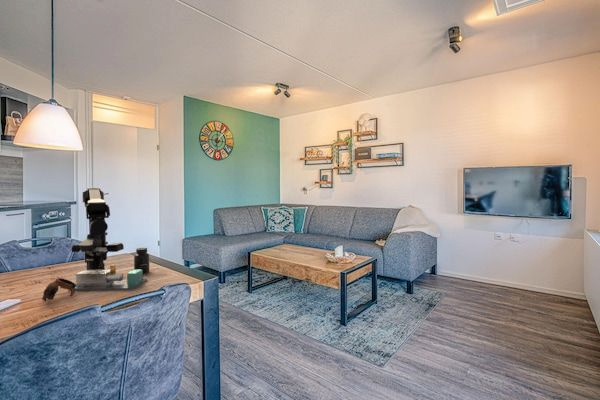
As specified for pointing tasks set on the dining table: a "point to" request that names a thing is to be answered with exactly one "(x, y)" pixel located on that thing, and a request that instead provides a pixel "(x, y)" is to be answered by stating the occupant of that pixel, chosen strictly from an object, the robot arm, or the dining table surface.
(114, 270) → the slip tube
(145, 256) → the supplement bottle
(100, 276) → the tube rig
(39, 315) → the dining table surface
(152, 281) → the dining table surface
